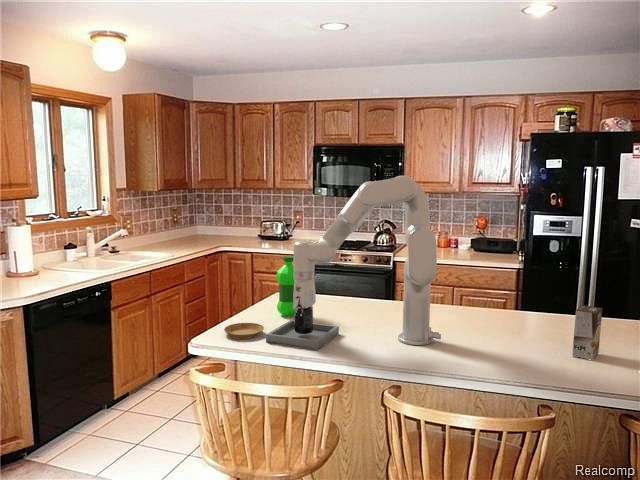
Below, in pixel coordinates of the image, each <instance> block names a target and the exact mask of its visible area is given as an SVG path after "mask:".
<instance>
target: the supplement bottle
mask: <svg viewBox="0 0 640 480" xmlns="http://www.w3.org/2000/svg"><path fill="white" fill-rule="evenodd" d="M298 307H302V306H298ZM298 310H300V312H301V309H298ZM303 316H304V326H303V327H299V326H295V313H294V316H293V317H294V318H293V319H294V327H295V332H296V333H298V334H309V333H311V332H313V323H314V307H313V308H312V307H311V306H310V307H308V308H306V309H304V311H303Z"/></svg>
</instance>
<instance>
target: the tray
mask: <svg viewBox="0 0 640 480" xmlns="http://www.w3.org/2000/svg"><path fill="white" fill-rule="evenodd" d="M339 328H340V326H338V325H332V324H331V325H330V324H325V323H316V322H313V332H311V333H309V334H298V333H296V332H295V327H294V320H292V319H290V320H289V321H286V322H285V323H283V324H281V325H280V326H279V327H277V328H274V329H273V330H271V331H269V332H268V333H266V334H265V342H266V343H267V344H273V345H281V346H287V347H293V348H300V349H306V350H313V351H319V350H320V349H321V348H322V347H324V346H325V345H327V344H328V343H330V342H331V341H332V340H333V339H334V338H336V337H337V336H338V335H339V334H340V333H339V332H340V331H339V330H340V329H339Z"/></svg>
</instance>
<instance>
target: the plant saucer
mask: <svg viewBox="0 0 640 480" xmlns="http://www.w3.org/2000/svg"><path fill="white" fill-rule="evenodd" d="M264 329H265V327H264V326H263V325H262V324H260V323H255V322H237V323H232V324H229V325H227V326H225V327H224V328H223V330H224V332H225V333H226V334H227V336H229V337H230V338H231V339H232V338H233V339H236V340H248V339H254V338H257V337H258V336H260V335H261V333H262V332H263V331H264Z"/></svg>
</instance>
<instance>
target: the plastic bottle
mask: <svg viewBox="0 0 640 480" xmlns="http://www.w3.org/2000/svg"><path fill="white" fill-rule="evenodd" d="M283 262H284V264H283V266H282V267H280V268H279V269H278V270H277V273H276V275H275V279H276V282H277V283H278V284H279V285H278V286H279V287H278V289H279V290H278V291H279V293H278V297H279V298H278V299H279V300H278V302H277V305H276V309H277V311H278V313H279V314H280V315H282V316H283V317H288V318H289V316H290V317H294V310H293V306H294V304H293V294H294V282H295V280H294V264H293V263H294V255H293V256H292V255H286V256H285V255H284V256H283Z"/></svg>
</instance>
